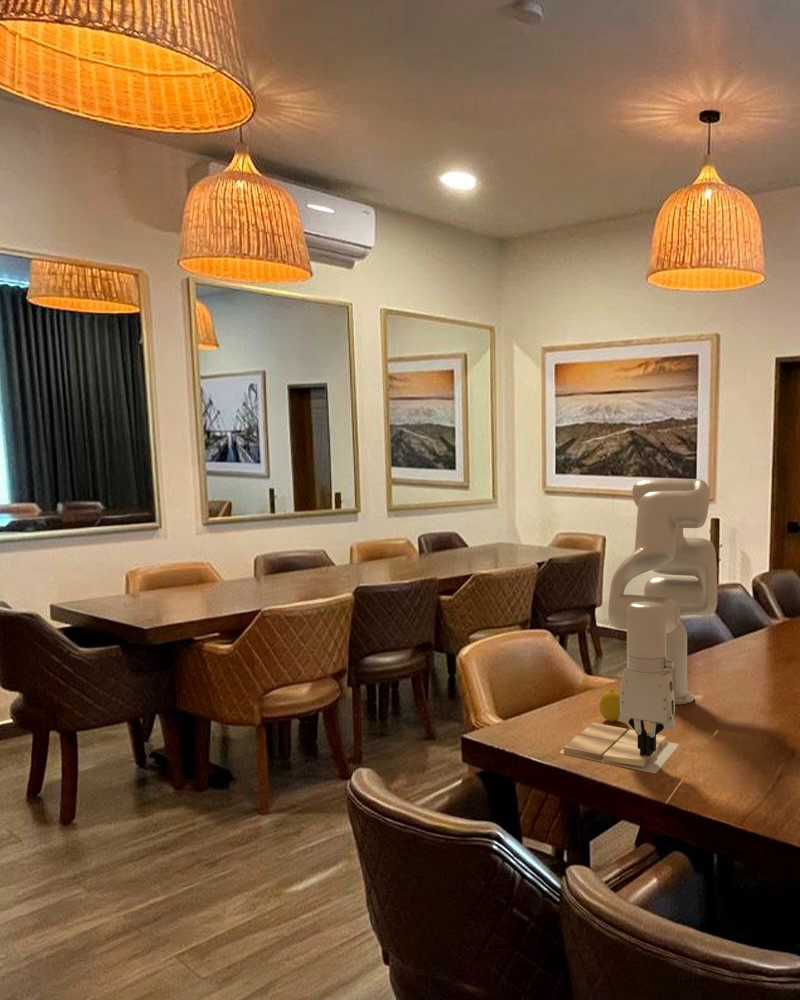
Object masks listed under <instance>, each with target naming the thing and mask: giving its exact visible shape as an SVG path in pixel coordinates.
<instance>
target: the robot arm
mask: <svg viewBox="0 0 800 1000" xmlns="http://www.w3.org/2000/svg"><path fill="white" fill-rule="evenodd" d="M710 493H711V491H710V488H709V486H708V483H707V482H706V481H705V480H703V479H699V478H698V479H696V478H695V479H693V478H691V479H690V478H689V479H687V478H683V479H680V478H678V479H677V478H675V479H674V478H673V479H671V478H670V479H669V478H667V479H666V478H663V479H662V478H661V479H659V478H658V479H642V480H639V481H637V482H636V483H634V485H633V486H632V498H633V501H634V504H635V505H636V507H637V514H636V515H637V516H636V526H635V527H636V530H635V540H634V542H635V543H634V550H633V552H632V553H631V554H629V556H628V557H627V558H625V559H624V560H623V562H622V563H621V564H620V565H619V566H618V567H617V569H616V571H615V572H614V573H613V576H612V579H611V582H610V589H609V598H608V607H607V608H608V611H607V613H608V614H607V615H608V619H609V623H610V624H611V626H612V627H614V628H615V629H618V630H623V631H626V666H625V667H624V669H623V673H622V677H621V684H620V693H619V694H620V715H619V719H618V720H619V721H621V722H623V723H626V724H628V725H629V726H630V727H631V728H632V730H635V733H636V734H637V735H638V749H640V755H644V754H645V753H646V755H647V756H649V757H650V756H651V755H652V754H653V752H655V751H656V735H659V733H661V732H662V731H665V730H674V729H675V727H676V722H675V718H674V717H675V715H676V705H685V704H690V703H692V702H693V701H694V698H695V697H694V696H695V695H694V694H693V693H692V692H691V691H689V690H688V633H687V629H686V627H685V625H684V624H683V623H682V621H681V616H682V615H685V616H697V617H698V616H704V617H707V616H711V615H713V614H714V613H716V609H717V606H718V579H717V578H718V577H717V576H718V575H717V573H718V569H717V565H718V564H717V553H716V548H715V546H714V543H712V541H711V540H709V539H706V538H700V537H699V538H698V537H685V536H684V529H699V528H702V527H703V526H704V525H705V523H706V521H707V518H708V513H709V506H710V502H711V494H710ZM650 571H653V573H656V574H659V575H664V576H655V577H652V578H650V579H648V580H647V581H646V582H645V585H644V588H643V591H644V592H643V593H644V595H639V594H625V589H626V587H627V585H629V583H630V582H631V581H632V580H633V579H635V578H636V577H638V576H641V575H642V574H645V573H647V572H650ZM665 575H668V576H665ZM681 576H683V577H681ZM684 576H686V577H684ZM690 576H691V577H690ZM645 722H648V723H649V728H648V731H646V726H645Z"/></svg>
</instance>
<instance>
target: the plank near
mask: <svg viewBox="0 0 800 1000" xmlns="http://www.w3.org/2000/svg"><path fill="white" fill-rule="evenodd" d="M654 753H655V752H653V754H654ZM653 754H652V755H653ZM652 755H651V756H650V757H649V756H647V755H646V753H645V754H644V755H640V749H638V745H637V744H629V743H621V742H616V743H615V744H614V745H613V746H612V747H611V748H610V749H609V750H608V751H607V752H606V753H605V754H604V755H603V761H607V762H614V763H622V764H629V765H636V766H644V765H645V763H646V762H647V761H648V760H649V759H650V758H651V757H652Z"/></svg>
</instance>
